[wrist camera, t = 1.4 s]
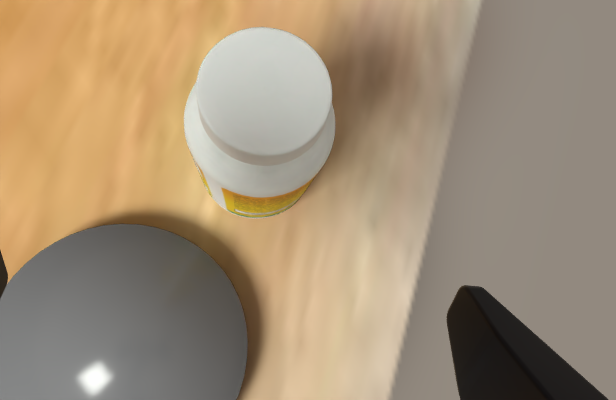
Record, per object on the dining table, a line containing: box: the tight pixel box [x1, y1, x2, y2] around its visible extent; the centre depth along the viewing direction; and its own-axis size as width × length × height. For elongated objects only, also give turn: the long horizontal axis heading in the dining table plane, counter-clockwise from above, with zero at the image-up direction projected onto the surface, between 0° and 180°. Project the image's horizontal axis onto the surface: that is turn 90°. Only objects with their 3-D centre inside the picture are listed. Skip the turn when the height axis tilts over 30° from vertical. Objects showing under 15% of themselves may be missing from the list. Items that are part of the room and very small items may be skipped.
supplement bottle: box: [184, 27, 335, 218], centre depth 17 cm, size 5×5×10 cm
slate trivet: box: [0, 224, 248, 400], centre depth 19 cm, size 11×11×1 cm
